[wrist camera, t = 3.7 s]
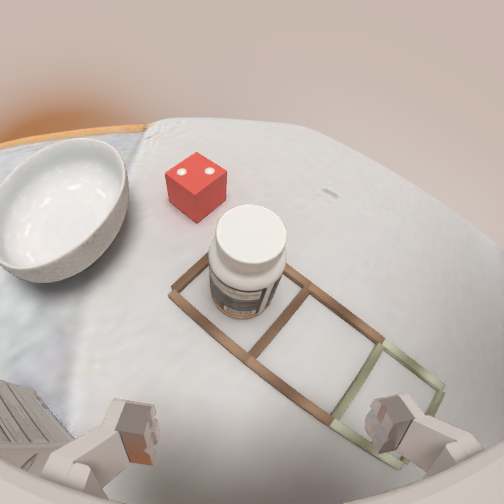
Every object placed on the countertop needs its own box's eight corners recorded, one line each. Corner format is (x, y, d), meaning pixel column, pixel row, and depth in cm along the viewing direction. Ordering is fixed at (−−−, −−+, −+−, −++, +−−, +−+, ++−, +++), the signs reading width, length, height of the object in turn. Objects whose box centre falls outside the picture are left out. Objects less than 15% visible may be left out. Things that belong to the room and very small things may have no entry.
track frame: (444, 387, 24) (447, 386, 23) (399, 470, 19) (402, 471, 19) (236, 229, 31) (236, 226, 31) (165, 294, 27) (164, 291, 26)
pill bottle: (242, 254, 30) (252, 185, 21) (284, 293, 28) (312, 234, 20) (198, 289, 27) (189, 227, 19) (240, 333, 26) (252, 288, 17)
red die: (225, 199, 33) (227, 170, 29) (197, 223, 31) (194, 194, 27) (197, 180, 34) (196, 151, 31) (169, 201, 32) (164, 172, 29)
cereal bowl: (28, 328, 23) (-11, 301, 17) (8, 218, 29) (-16, 183, 23) (164, 252, 29) (151, 207, 23) (113, 161, 35) (102, 118, 29)
